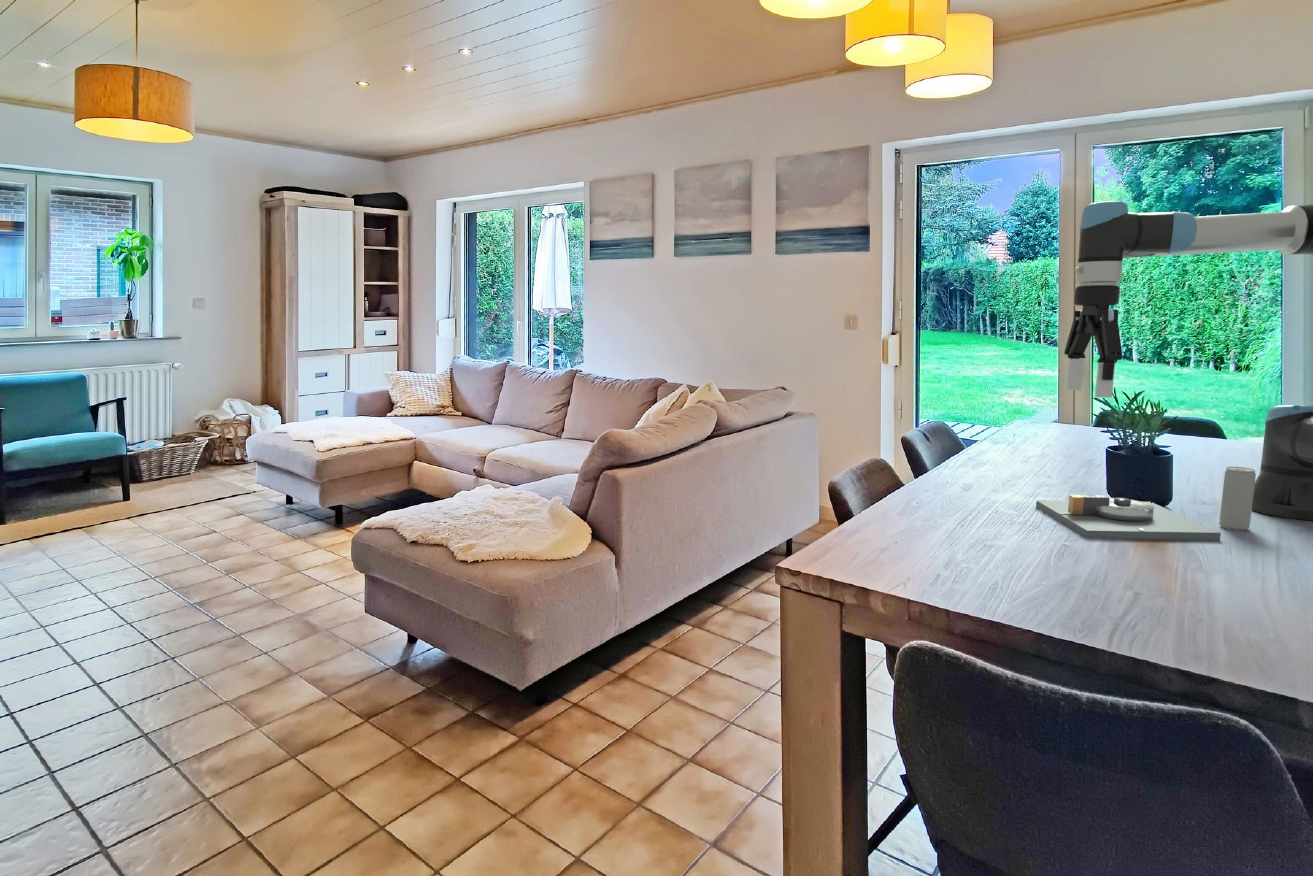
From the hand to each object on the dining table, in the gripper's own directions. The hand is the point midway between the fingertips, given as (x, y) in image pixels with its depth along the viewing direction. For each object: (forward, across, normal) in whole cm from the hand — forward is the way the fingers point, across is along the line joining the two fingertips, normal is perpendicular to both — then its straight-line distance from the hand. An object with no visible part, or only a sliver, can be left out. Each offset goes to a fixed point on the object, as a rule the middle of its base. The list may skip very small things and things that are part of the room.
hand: (1087, 393), depth 150 cm
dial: (+25, -2, +7) cm, 26 cm away
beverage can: (+27, 0, +29) cm, 40 cm away
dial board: (+27, -2, +9) cm, 28 cm away
